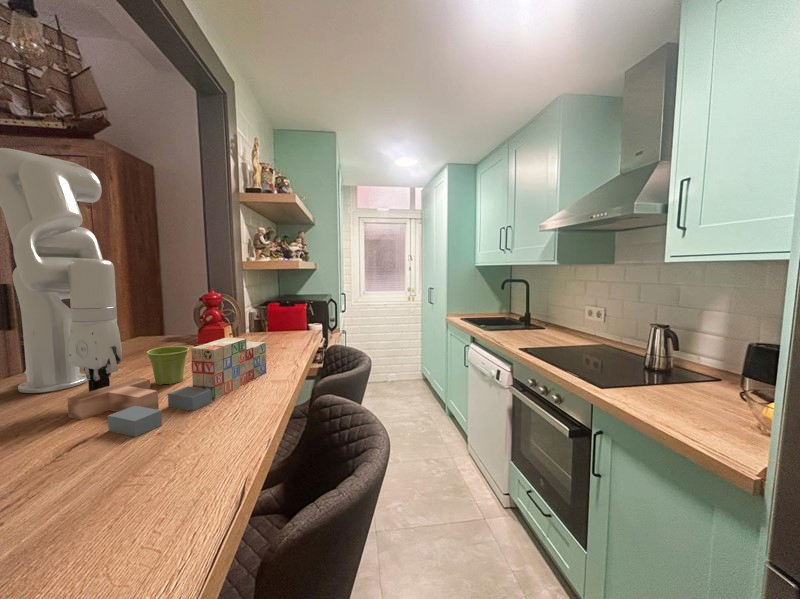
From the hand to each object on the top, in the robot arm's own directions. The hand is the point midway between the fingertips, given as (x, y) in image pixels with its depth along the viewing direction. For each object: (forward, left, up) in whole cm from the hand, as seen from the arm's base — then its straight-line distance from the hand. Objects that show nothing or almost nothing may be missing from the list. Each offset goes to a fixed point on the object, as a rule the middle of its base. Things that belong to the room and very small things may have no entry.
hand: (100, 395), depth 77 cm
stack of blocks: (+18, +21, -2) cm, 27 cm away
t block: (+8, 0, -2) cm, 9 cm away
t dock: (+19, 0, -2) cm, 19 cm away
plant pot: (+1, +16, -2) cm, 16 cm away
